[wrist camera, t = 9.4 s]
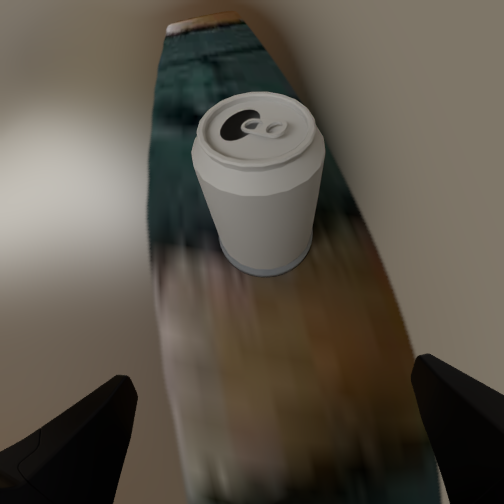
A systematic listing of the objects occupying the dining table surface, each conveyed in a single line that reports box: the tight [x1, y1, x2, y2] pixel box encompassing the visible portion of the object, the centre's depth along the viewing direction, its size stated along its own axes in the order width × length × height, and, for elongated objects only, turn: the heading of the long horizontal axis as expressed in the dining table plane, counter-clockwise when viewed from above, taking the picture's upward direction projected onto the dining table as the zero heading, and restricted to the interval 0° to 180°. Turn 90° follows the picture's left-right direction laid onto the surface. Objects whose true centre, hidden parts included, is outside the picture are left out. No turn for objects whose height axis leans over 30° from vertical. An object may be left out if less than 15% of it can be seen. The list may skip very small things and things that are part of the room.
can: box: [191, 92, 325, 270], centre depth 19 cm, size 8×8×12 cm
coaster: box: [219, 231, 313, 277], centre depth 25 cm, size 8×8×1 cm
